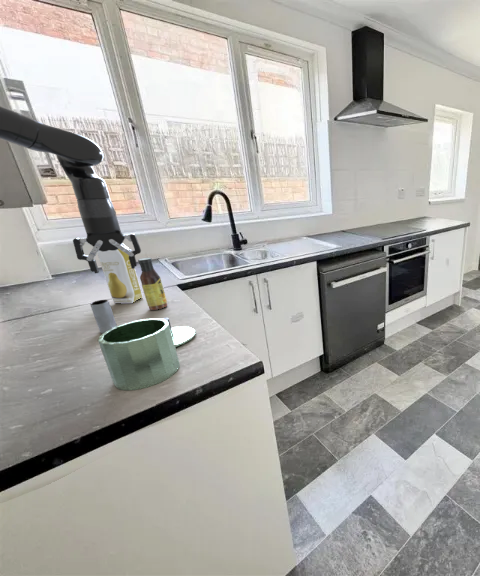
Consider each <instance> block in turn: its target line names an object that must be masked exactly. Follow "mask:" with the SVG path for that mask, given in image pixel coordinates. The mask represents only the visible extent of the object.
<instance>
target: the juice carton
mask: <svg viewBox="0 0 480 576" xmlns="http://www.w3.org/2000/svg"><path fill="white" fill-rule="evenodd" d="M126 246H127V247H128V248H129V246H128V245H126ZM129 249H130V248H129ZM96 255H97V257H98V260H99V264H100V266H101V269H102V272H103V276H104V278H105V281H106V285H107V289H108V291H109V294H110V298H111V300H112V302H113V304H115V303H121V304H134V303H136V302H137V301H136V300H138V299H140V298H142V297H143V298H144V295H143V291H142V290H143V289H142V286H141V284H140V280H139V277H138V273H137V270H136V269H137V268H136V267H135V268H134V269H132V268H131V264H130V261H129V255H128V254H126V253H125V252H123V251H121V250H120V249H117V250H114V251H112V250H108V251H104V252H102V251H98V252H97V254H96ZM143 298H142V299H143ZM140 300H141V299H140ZM135 301H136V302H135ZM138 301H139V300H138ZM133 302H134V303H133Z"/></svg>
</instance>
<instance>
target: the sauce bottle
mask: <svg viewBox="0 0 480 576" xmlns="http://www.w3.org/2000/svg"><path fill="white" fill-rule="evenodd" d="M137 263H138V264H139V266H140V270H141V273H140V276H139V279H140V280H139V281H140V282H141V289H142V290H143V291H142V292H143V294H144V297H145V300H146V304H147V307H148V308H149V309H148V310H150V311H158V309H159V310H163V309H165V308H166V306H168V299H167V296H166V292H165V289H164V285H163V282H162V278H161V276H160V275H159V274H158V272H157V271H156V269H155V268H154V265H153V260H152V258H151V257H143V258H139V259H137ZM164 307H165V308H164ZM162 308H163V309H162Z"/></svg>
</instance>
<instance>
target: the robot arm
mask: <svg viewBox="0 0 480 576" xmlns="http://www.w3.org/2000/svg"><path fill="white" fill-rule="evenodd" d="M0 140H2V141H5V142H8V143H11V144H14V145H17V146H20V147H23V148H25V149H28V150H32V151H35V152H39V153H48V154H52V155H55V156H56V158H57V161H58V163H59V165H60V166H61V168H62V170H63V172H64V173H65V175H66V177H67V178H68V180H69V181H70V183H71V186H72V189H73V193H74V196H75V199H76V202H77V208H78V213H79V215H80V218H81V221H82V224H83V227H84V230H85V233H86V237H83V238H82V237H75V238H73V239H72V243H73V246H74V251H75V254H76V258H77V260H79V261H86V262H87V264H88V266H89V269H90V272H93V273H94V274H99V273H100V269H99V267H98V264H97V261H96V259H95V257H96V255H98V254H97V252H98V251H102V252H104V251H108V250H112V251H114V250H117V249H120V250H121V251H123V252H125V253H126V254H128V255H129V261H130V264H131V268H132V269H134V268H135V269H136V267H137V266H138V261H137V259H136V255H138V254H141V252H142V249H141V247H140V244H139V241H138V239H137V235H136V233H134V232H132V233H129V234H124V233H123V232H122V230H121V226H120V224H119V221H118V216H117V212H116V209H115V207H114V204H113V202H112V199H111V197H110V193H109V190H108V187H107V184H106V181H105V180H104V179H103V178H102V177H99V176H98V175H97V174H96V172H95V170H94V166H98V165H100V164H101V163H102V162H103V160H104V153H103V150H102V149H101V147H100V146H99V145H98V144H97V143H96V142H95V141H93V140H91V139H90V138H88V137H85V136H82V135H81V134H78V133H74V132H71V131H68V130H65V129H62V128H58V127H54V126H51V125H48V124H45V123H43V122H41V121H39V120H37V119H35V118H32V117H29V116H27V115H24V114H22V113H19V112H17V111H15V110H12V109H10V108H7V107H4V106H2V105H0ZM125 239H126V240H127V241H128V242H131V243H132V247H133V249H134V250H132V249H131V248H128V247H129V246H128V245H125V244H124V243H123V242H124V241H125ZM86 243H87V244H89V245H90V246H92V248H91V250H90V252H89V254H85V252H84V247H83V246H85V245H86ZM127 246H128V247H127Z"/></svg>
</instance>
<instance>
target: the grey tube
mask: <svg viewBox="0 0 480 576" xmlns="http://www.w3.org/2000/svg"><path fill="white" fill-rule="evenodd" d="M89 306H90V308H91V311H92V314H93V316H94V319H95V322H96V325H97V328H98V330H99V333H100V334H103V333H105V332H106V331H108V330H110V329H112V328H114V327H117V326H118V325H117V322H116V319H115V316H114V313H113V310H112V307H111V304H110V301H109V299H99V300H95V301H92V302H90V304H89Z"/></svg>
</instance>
